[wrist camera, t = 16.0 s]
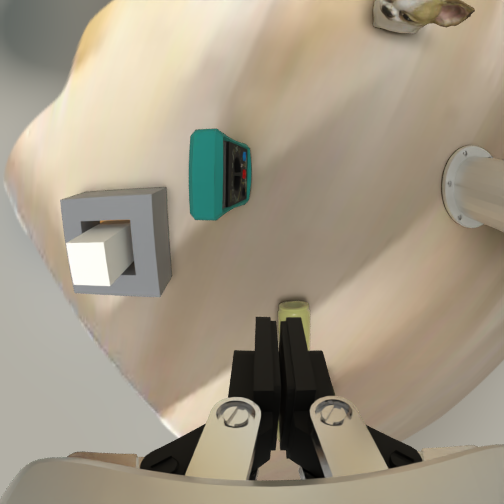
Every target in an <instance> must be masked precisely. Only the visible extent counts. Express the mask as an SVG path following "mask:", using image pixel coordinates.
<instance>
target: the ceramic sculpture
mask: <svg viewBox="0 0 504 504" xmlns="http://www.w3.org/2000/svg"><path fill="white" fill-rule="evenodd" d="M474 11H475V9H474V8H473V7H471V6H469V5H467V4H466V3H464V2H462V1H460V0H375V2H374V8H373V16H374V22H373V26H374V27H377V28H383V29H386V30H389V31H394V32H399V33H411V34H414V33H416V32H418V30H419V29H420V28H422V27H423V26H425V25H427V24H429V23H435V24H437V25H439V26H443V27H449V26H457V25H458V24H460V23H461V22H463V21H464V20H466V19H467V18H468V17H470V16H471V14H472V13H473V12H474Z"/></svg>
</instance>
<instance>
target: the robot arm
mask: <svg viewBox="0 0 504 504" xmlns="http://www.w3.org/2000/svg"><path fill="white" fill-rule="evenodd" d="M442 194H443V200H444V204H445V207H446V209H447V211H448V213H449V215H450V216H451V218H452V219H453V220H454V221H455V222H456V223H458V224H460V225H462V226H464V227H467V228H477V227H480V226H482V225H484V224H485V225H488V226H490V227H492V228H495V229H497V230H499V231H502V232H504V160H501V159H494V158H493V157H492V156H491V155H490V154H489V153H488V152H487V151H486V150H485V149H483V148H481V147H478V146H464V147H461V148H460V149H458V150H457V151H456V152H455V153H454V154H453V155H452V156H451V158H450V159H449V161H448V163H447V165H446V167H445V170H444V174H443V181H442ZM278 421H279V435H280V450H286V457H287V459H288V458H290V459H291V460H292V461H293V462H295V463H296V464H298V469H299V474H300V478H301V480H277V481H257V477H258V472H259V467H260V466H262V465H263V464H264V463H266V462H267V461H268V460H270V453H271V450H276V441H277V431H278ZM0 504H504V444H502V445H501V444H500V445H499V444H498V445H497V444H496V445H489V446H481V447H477V446H475V445H465V446H454V447H442V448H441V447H440V448H423V449H422V450H421V451H417V450H415V449H414V448H412V447H411V446H408V445H406V444H404V443H402V442H400V441H398V440H396V439H393V438H391V437H389V436H387V435H385V434H383V433H381V432H379V431H377V430H375V429H373V428H371V427H369V426H367V425H365V423H364V421H363V419H362V417H361V415H360V413H359V412H358V410H357V408H356V407H355V405H354V404H353V403H352V402H351V401H349V400H348V399H345V398H343V397H338V396H334V392H333V388H332V384H331V381H330V377H329V373H328V369H327V365H326V362H325V358H324V354H323V352H322V351H308V347H307V342H306V338H305V333H304V328H303V324H302V319H301V317H286V321H281V322H280V337H279V352H278V338H277V325H276V321H271V318H270V317H256V330H255V351H238V350H235V351H234V355H233V363H232V371H231V379H230V387H229V395H228V398H226V399H223V400H221V401H219V402H218V403H216V404H215V405H214V407H213V408H212V410H211V412H210V415H209V417H208V420H207V422H206V424H204V425H202V426H201V427H199V428H197V429H195V430H193V431H191V432H190V433H188V434H186V435H184V436H182V437H180V438H178V439H176V440H175V441H173V442H171V443H169V444H167V445H165V446H163V447H161V448H159V449H157V450H154V451H152V452H151V453H149V454H148V455H146V456H145V457H137V454H116V453H115V454H114V453H96V452H75V453H72V454H70V455H69V456H67V457H57V458H55V457H52V458H44V459H38V460H35V461H33V462H31V463H29V464H28V465H26V466H25V467H24V468H23V469H21V470H20V472H19V473H18V474H17V475H16V476H15V478H14V479H13V480H12V482H11V483H10V484H9V486H8V487H7V489H6V491H5V492H4V494H3V496H2V497H1V499H0Z"/></svg>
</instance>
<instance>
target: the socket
mask: <svg viewBox="0 0 504 504" xmlns="http://www.w3.org/2000/svg"><path fill="white" fill-rule="evenodd" d="M60 202H61V212H62V220H63V228H64V236H65V243H67V242H69V241H70V240H72V239H74V238H75V237H77V236H79V235H81V234H82V233H84V232H86V231H87V230H89V229H91V228H93V227H95V226H96V225H98V224H100V221H101V220H130V224H131V235H132V245H133V254H134V261H133V262H132V263H131V264H130V266H129V267H128V268H127V269H126V270H125V271H124V272H123V273H122V274H121V275H120V276H119V277H118V278H117V279H116V280H115V282H114V283H113V284H112V285H111V286H93V285H74V284H73V287H74V292H75V293H83V294H100V295H119V296H143V297H161V295H162V293H163V291H164V289H165V288H166V286H167V284H168V282H169V280H170V279H171V277H172V271H171V259H170V245H169V230H168V213H167V191H166V187H159V188H137V189H120V190H105V191H91V192H83V193H80V194H77V195H74V196H71V197H68V198H65V199H62V200H60ZM66 249H67V246H66ZM67 255H68V252H67ZM68 261H69V258H68ZM69 267H70V263H69ZM70 272H71V269H70ZM71 278H72V274H71ZM72 283H73V279H72Z"/></svg>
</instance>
